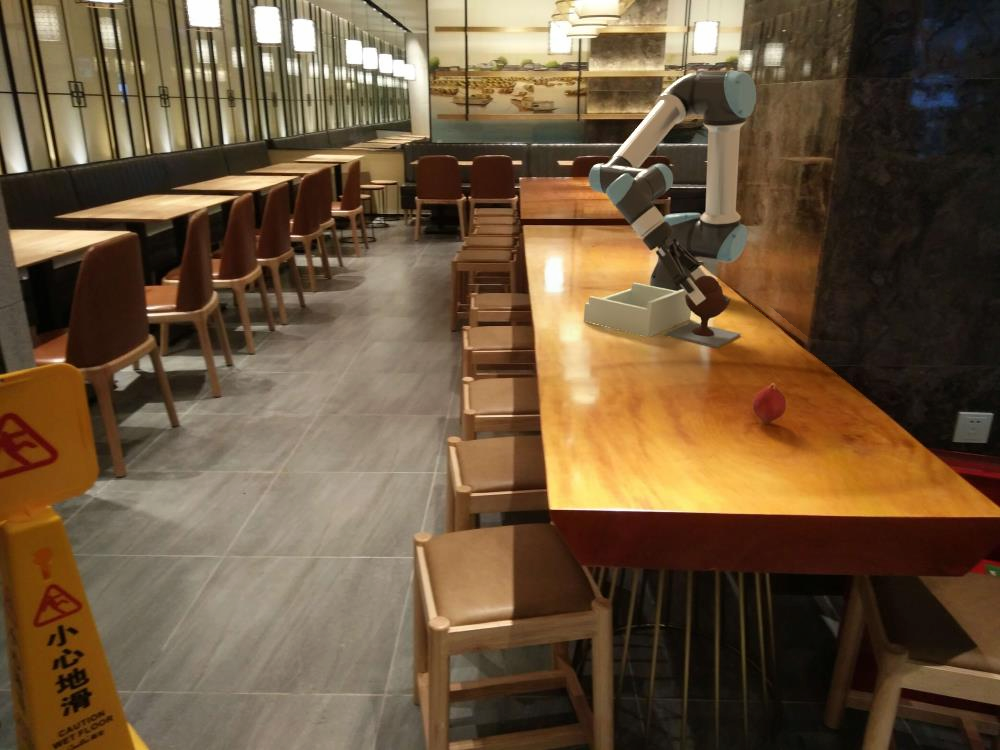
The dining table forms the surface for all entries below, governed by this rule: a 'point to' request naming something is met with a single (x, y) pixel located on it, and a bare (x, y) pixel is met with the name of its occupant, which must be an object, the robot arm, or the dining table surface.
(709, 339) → the slate mat
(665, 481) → the dining table surface
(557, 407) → the dining table surface
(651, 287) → the drawer
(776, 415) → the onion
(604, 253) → the dining table surface
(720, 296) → the ice cream bowl
